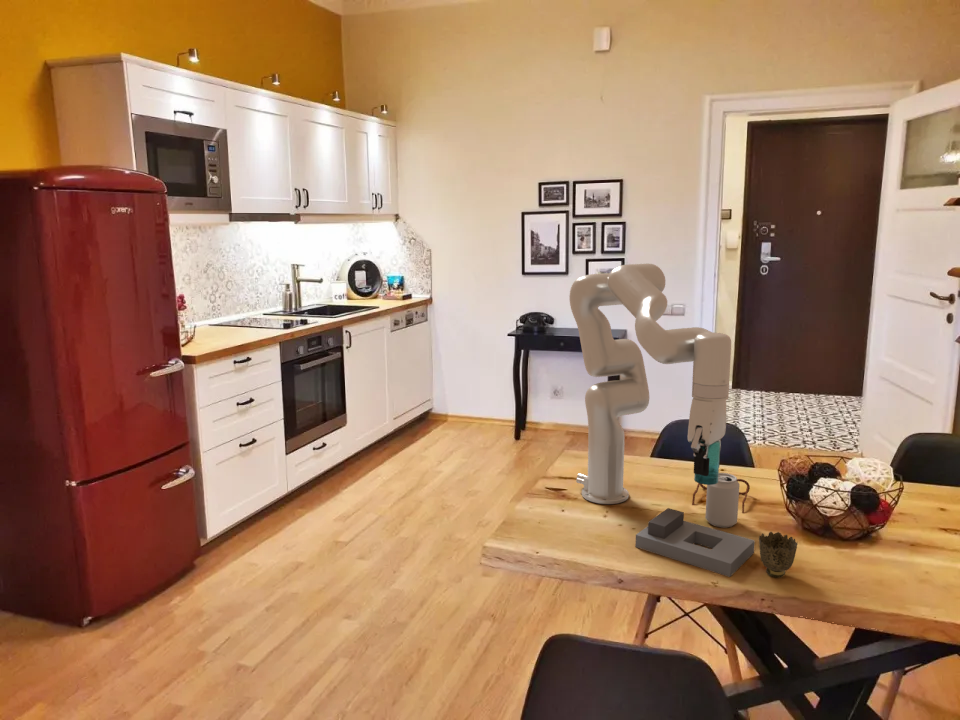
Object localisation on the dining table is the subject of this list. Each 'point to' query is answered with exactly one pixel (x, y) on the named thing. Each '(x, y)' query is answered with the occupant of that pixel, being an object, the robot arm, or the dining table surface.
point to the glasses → (739, 492)
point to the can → (723, 501)
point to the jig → (678, 541)
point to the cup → (777, 553)
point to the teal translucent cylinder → (710, 465)
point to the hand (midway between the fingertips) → (706, 470)
